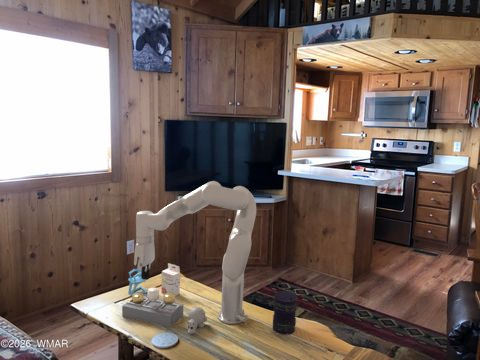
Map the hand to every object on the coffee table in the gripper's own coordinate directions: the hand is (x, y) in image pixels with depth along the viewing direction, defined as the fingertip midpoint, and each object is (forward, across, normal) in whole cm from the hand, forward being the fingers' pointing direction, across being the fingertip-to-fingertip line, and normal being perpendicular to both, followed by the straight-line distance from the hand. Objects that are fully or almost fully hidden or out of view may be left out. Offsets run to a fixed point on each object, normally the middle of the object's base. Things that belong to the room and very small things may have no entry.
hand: (145, 278), depth 168 cm
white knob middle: (+9, 0, +4) cm, 10 cm away
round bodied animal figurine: (+17, +3, +26) cm, 31 cm away
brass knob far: (+12, 0, -4) cm, 12 cm away
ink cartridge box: (+17, -23, 0) cm, 28 cm away
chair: (+17, -17, -16) cm, 28 cm away
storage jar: (+18, -12, +61) cm, 65 cm away
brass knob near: (+9, 0, +12) cm, 15 cm away
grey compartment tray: (+17, 0, +4) cm, 17 cm away
